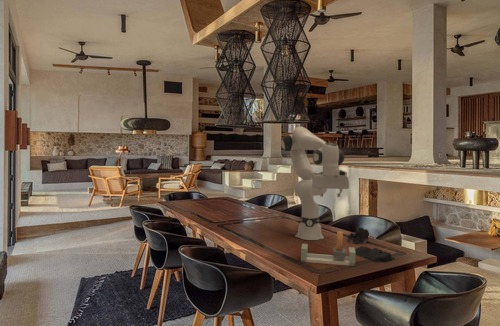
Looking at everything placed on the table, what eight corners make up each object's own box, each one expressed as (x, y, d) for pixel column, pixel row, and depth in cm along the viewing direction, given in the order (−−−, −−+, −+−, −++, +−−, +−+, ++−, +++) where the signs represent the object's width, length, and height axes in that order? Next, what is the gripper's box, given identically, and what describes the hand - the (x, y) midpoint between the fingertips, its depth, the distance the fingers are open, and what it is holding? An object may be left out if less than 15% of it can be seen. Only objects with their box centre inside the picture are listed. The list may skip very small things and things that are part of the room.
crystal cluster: (342, 242, 243) (343, 228, 241) (352, 237, 253) (353, 223, 251) (362, 248, 235) (363, 233, 233) (371, 242, 245) (372, 227, 243)
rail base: (302, 256, 210) (302, 243, 210) (353, 260, 204) (354, 247, 204) (300, 261, 200) (301, 248, 200) (355, 266, 194) (355, 252, 194)
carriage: (333, 253, 205) (334, 229, 205) (344, 254, 204) (345, 230, 203) (333, 257, 198) (334, 233, 197) (345, 258, 196) (346, 233, 196)
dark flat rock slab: (367, 250, 226) (367, 242, 226) (397, 260, 207) (397, 252, 206) (348, 253, 219) (348, 245, 219) (377, 264, 199) (377, 255, 199)
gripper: (312, 172, 207) (311, 197, 208) (350, 172, 206) (349, 197, 206) (311, 171, 214) (311, 195, 214) (347, 171, 212) (347, 196, 212)
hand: (330, 196), depth 210 cm, fingers open, 8 cm apart
